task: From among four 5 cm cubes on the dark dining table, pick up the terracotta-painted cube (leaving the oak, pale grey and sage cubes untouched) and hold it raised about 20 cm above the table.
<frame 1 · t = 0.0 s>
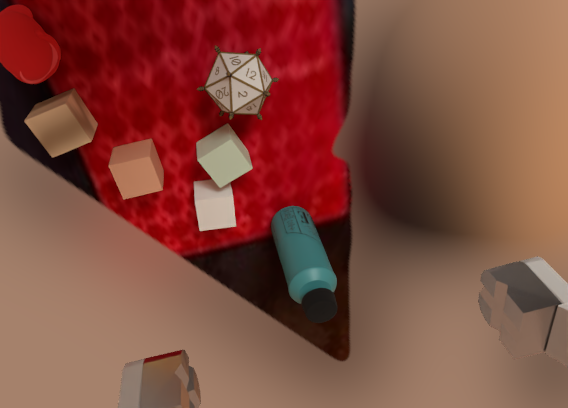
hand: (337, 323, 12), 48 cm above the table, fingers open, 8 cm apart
block sage: (222, 146, 62), on the table
beverage bottle: (289, 215, 70), on the table
game die: (235, 72, 57), on the table
block terracotta: (139, 159, 61), on the table
block oak: (67, 114, 56), on the table
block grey: (213, 194, 66), on the table
cap: (32, 39, 51), on the table
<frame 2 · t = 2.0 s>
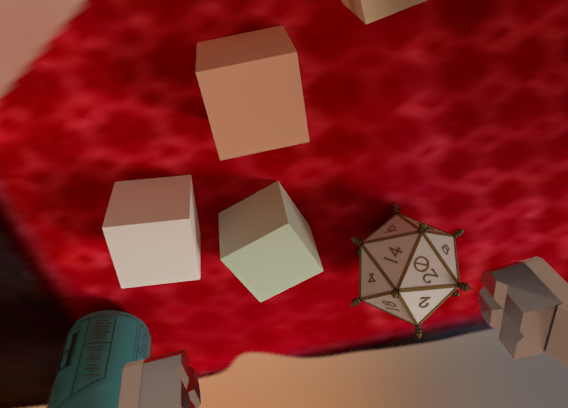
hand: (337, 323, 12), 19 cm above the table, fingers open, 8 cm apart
block sage: (265, 219, 34), on the table
beverage bottle: (115, 319, 38), on the table
game die: (388, 231, 37), on the table
block terracotta: (248, 75, 28), on the table
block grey: (159, 207, 32), on the table
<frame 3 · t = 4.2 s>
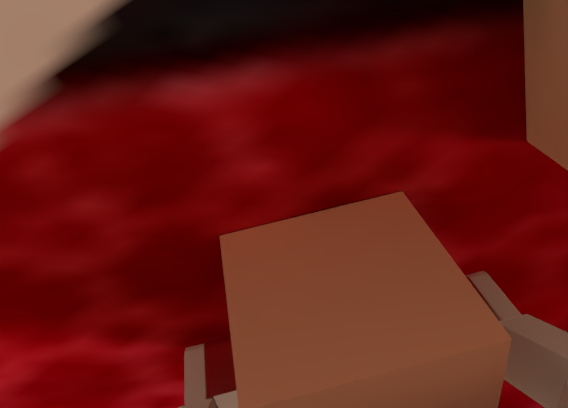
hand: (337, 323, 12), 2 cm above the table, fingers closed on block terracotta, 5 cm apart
block terracotta: (322, 279, 14), on the table, touching gripper
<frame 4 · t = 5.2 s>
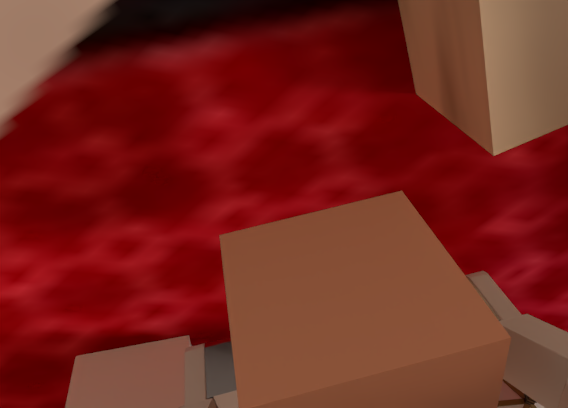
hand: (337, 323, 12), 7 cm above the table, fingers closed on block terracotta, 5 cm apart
game die: (455, 366, 27), on the table
block terracotta: (322, 279, 14), point 5 cm above the table, touching gripper
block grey: (145, 377, 22), on the table
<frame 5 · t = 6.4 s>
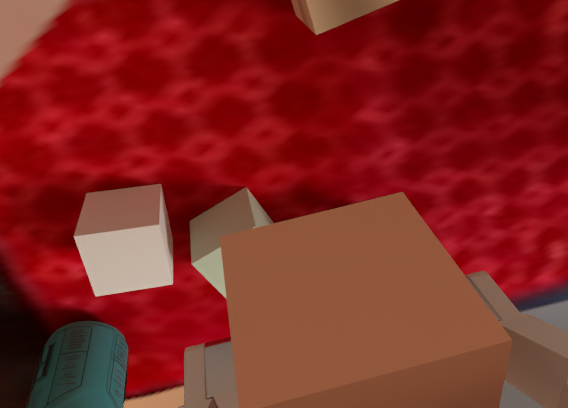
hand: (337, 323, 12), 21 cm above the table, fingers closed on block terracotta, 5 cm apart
block sage: (235, 225, 35), on the table
beverage bottle: (92, 330, 38), on the table
block terracotta: (322, 280, 14), point 19 cm above the table, touching gripper
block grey: (132, 217, 33), on the table
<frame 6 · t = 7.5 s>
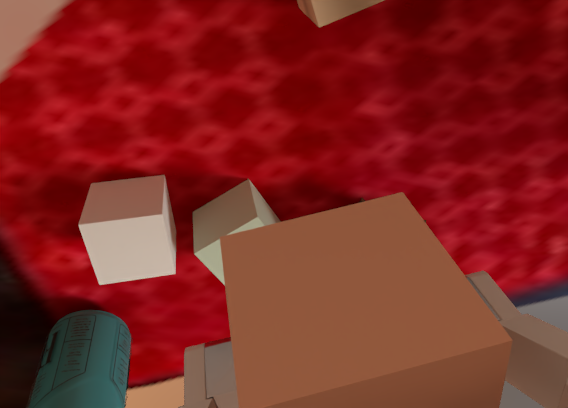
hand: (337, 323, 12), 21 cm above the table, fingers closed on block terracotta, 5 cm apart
block sage: (238, 216, 36), on the table
beverage bottle: (95, 320, 39), on the table
block terracotta: (322, 280, 14), point 19 cm above the table, touching gripper
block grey: (135, 207, 34), on the table
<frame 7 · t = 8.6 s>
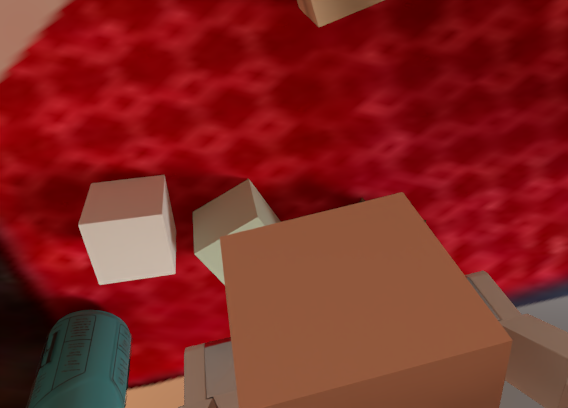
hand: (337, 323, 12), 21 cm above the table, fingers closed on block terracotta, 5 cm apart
block sage: (238, 216, 36), on the table
beverage bottle: (95, 320, 39), on the table
block terracotta: (322, 280, 14), point 19 cm above the table, touching gripper
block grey: (135, 207, 34), on the table
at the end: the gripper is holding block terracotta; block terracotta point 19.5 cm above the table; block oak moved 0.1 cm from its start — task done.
